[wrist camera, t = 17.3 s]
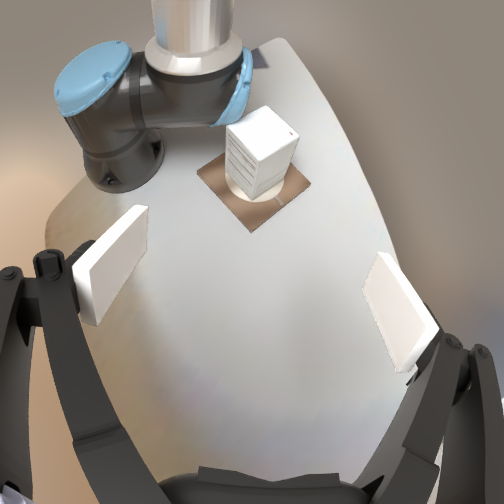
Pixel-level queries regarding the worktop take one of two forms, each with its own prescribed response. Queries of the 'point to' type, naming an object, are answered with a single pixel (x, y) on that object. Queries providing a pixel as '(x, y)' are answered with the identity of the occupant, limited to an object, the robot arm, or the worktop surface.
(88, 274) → the robot arm
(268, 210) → the dial board
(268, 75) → the worktop surface
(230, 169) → the supplement box
